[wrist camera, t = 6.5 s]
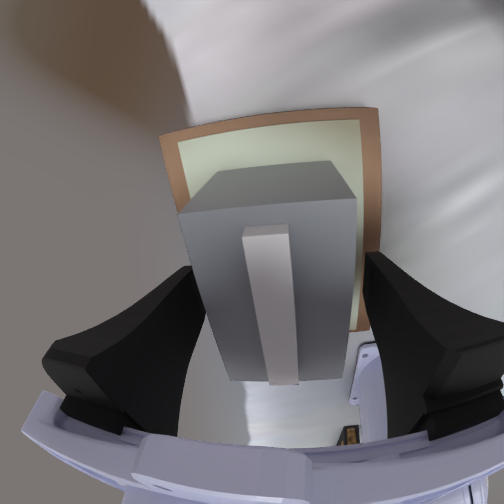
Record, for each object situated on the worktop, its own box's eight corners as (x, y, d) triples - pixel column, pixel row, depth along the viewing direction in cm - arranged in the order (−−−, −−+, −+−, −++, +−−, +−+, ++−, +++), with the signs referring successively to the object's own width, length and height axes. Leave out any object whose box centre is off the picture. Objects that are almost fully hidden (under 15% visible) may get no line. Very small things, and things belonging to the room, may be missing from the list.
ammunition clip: (345, 450, 33) (345, 517, 22) (333, 451, 33) (332, 518, 23) (358, 424, 27) (362, 510, 17) (344, 426, 28) (345, 513, 17)
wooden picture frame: (364, 309, 18) (370, 333, 16) (223, 318, 20) (216, 341, 18) (365, 107, 12) (379, 108, 10) (174, 131, 13) (156, 136, 11)
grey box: (330, 160, 11) (362, 206, 6) (332, 305, 15) (343, 389, 10) (217, 171, 12) (169, 222, 7) (245, 309, 16) (227, 390, 11)
